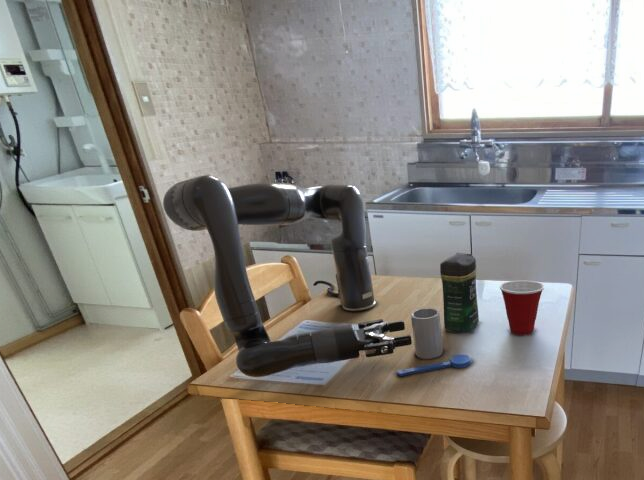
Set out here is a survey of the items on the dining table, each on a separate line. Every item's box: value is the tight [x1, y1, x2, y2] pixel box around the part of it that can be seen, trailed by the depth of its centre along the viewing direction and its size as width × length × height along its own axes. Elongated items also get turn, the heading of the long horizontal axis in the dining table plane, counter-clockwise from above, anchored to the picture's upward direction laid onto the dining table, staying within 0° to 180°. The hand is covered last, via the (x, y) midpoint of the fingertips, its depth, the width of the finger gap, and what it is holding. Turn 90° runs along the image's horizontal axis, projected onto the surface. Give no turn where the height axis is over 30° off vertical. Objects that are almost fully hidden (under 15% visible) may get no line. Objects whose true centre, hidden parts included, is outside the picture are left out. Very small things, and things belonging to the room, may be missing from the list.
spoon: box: [396, 353, 472, 377], centre depth 115 cm, size 17×5×1 cm, turn 108°
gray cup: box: [410, 307, 444, 360], centre depth 119 cm, size 6×6×10 cm
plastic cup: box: [499, 279, 545, 336], centre depth 127 cm, size 11×11×12 cm
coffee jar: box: [439, 252, 480, 334], centre depth 129 cm, size 10×8×19 cm
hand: (407, 331), depth 117 cm, fingers open, 8 cm apart
